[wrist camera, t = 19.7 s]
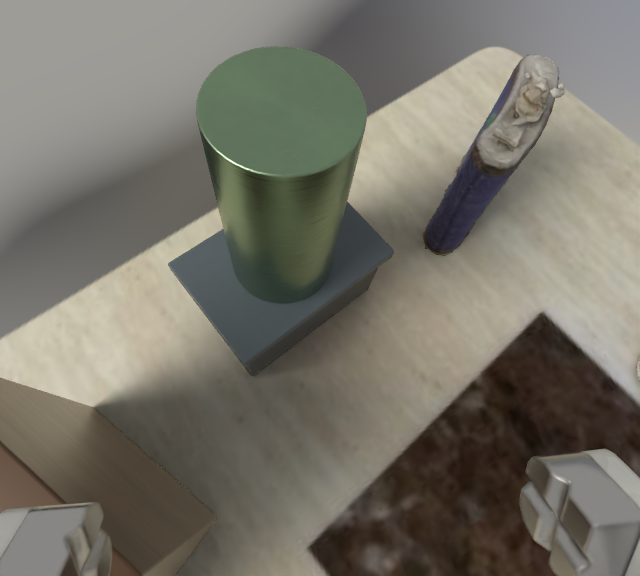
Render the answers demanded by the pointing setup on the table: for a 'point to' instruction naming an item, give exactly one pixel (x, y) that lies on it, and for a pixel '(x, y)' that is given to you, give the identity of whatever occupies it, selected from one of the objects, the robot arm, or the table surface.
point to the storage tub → (273, 318)
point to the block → (96, 480)
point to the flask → (496, 151)
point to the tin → (281, 164)
